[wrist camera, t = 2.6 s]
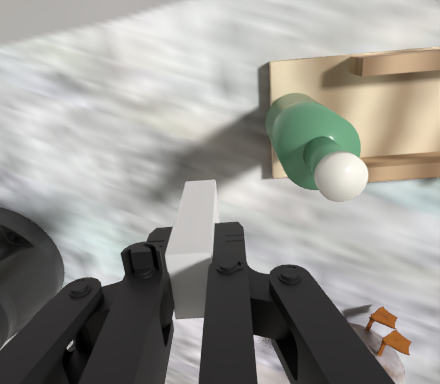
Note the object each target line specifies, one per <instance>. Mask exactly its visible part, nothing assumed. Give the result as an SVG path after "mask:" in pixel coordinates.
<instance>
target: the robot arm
mask: <svg viewBox="0 0 440 384" xmlns="http://www.w3.org/2000/svg"><path fill="white" fill-rule="evenodd" d="M121 257H122V261H123V266H124V270H125V276H124V278H123V280H122V281H120V282H117V283H114V284H110V285H107V286H103V287H102V286H101V282H100V281H99V280H98V279H95V278H92V277H91V278H81V279H77V280H75V281H73V282H71V283H69V284H67V285H66V286H65V287H64V288H62V285H63V281H64V265H63V261H62V258H61V255H60V253H59V250H58V249H57V247H56V245H55V244H54V242H53V241H52V239H51V238H50V237H49V236H48V235H47V234H46V233H45V232H44V231H43V230H42V229H41V228H40V227H39V226H38V225H36V224H35V223H34V222H32V221H31V220H29V219H28V218H26V217H24V216H22V215H20V214H18V213H16V212H13V211H11V210H8V209H5V208H1V207H0V348H1V347H2V346H3V344H4V343H5V342H6V341H7V340H8V339H10V338H11V337H12V336H14V335H15V334H16V333H17V334H16V335H15V336H14V337H13V338H12V339H11V340H10V341H9V342H8V343H7V344H6V345H5V346H4V347H3V348H2V349H1V350H0V384H164V383H165V378H166V372H167V366H168V361H169V355H170V349H171V344H172V338H173V332H174V326H173V320H172V316H173V311H174V312H175V317H176V319H188V318H204V325H203V337H202V349H201V361H200V373H199V384H258V383H257V372H256V361H255V349H254V338H253V335H258V336H262V337H266V338H271V341H272V345H273V347H274V349H275V351H276V353H277V356H278V358H279V360H280V362H281V364H282V366H283V368H284V371H285V373H286V375H287V377H288V379H289V381H290V384H395V382H394V381H393V380H392V378H391V377H390V376H389V375H388V373H387V372H386V371H385V369H384V368H383V367H382V366H381V364H380V363H379V362H378V360H377V359H376V358H375V357H374V355H373V354H372V353H371V351H370V350H369V349H368V348H367V346H366V345H365V344H364V342H363V341H362V340H361V339H360V337H359V336H358V335H357V333H356V332H355V331H354V330H353V328H352V327H351V326H350V324H349V323H348V322H347V321H346V319H345V318H344V317H343V315H342V314H341V313H340V312H339V310H338V309H337V308H336V306H335V305H334V304H333V303H332V301H331V300H330V299H329V297H328V296H327V295H326V294H325V292H324V291H323V290H322V288H321V287H320V286H319V285H318V283H317V282H316V281H315V279H314V278H313V277H312V276H311V274H310V273H309V272H308V271H307V270H306V269H304V268H302V267H300V266H297V265H290V264H289V265H281V266H278V267H275V268H274V269H273V270H272V271H271V272H270V274H263V273H259V272H257V271H254V270H253V269H251V268H250V267H249V266H248V265H247V262H246V252H245V241H244V230H243V227H242V226H241V225H240V223H239V222H227V223H220V220H219V210H218V199H217V189H216V179H214V180H200V181H186V183H185V186H184V190H183V193H182V197H181V200H180V204H179V207H178V211H177V214H176V218H175V221H174V225H173V227H164V228H156V229H155V230H154V231H153V232H151V233H150V234H149V236H148V239H147V242H140V243H135V244H133V245H130V246H128V247H127V248H125V249H124V250H123V251H122V252H121ZM61 288H62V289H61ZM72 340H73V345H72V346H71V347H70V348H69V349H68V350H67V349H66V348H67V346H68V345H69V344H70V342H71V341H72Z"/></svg>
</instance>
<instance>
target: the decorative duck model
mask: <svg viewBox="0 0 440 384" xmlns="http://www.w3.org/2000/svg"><path fill="white" fill-rule="evenodd" d="M369 318H370V321H369V323H368V325H367V326H366V327H363V326H360V325H357V324H352V323H349V324H350V326H351V327H352V328H353V330H354V331H355V332H356V333H357V335H358V336H359V337H360V339H361V340H362V341H363V342H364V344H365V345H366V346H367V348H368V349H369V350H370V351H371V353H372V354H373V355H374V357H375V358H376V359H377V360H378V362H379V363H380V364H381V366H382V367H383V368H384V369H385V371H386V372H387V373H388V375H389V376H390V377H391V378H392V380H393V381H394V382H395V384H403V383H404V379H405V372H404V368H403V364H402V362H401V360H400V358H399V356H398V354H397V353H396V351H395V350H397V351H399V352H401V353H403V354H406V355H410V354H409V345H410V344H411V342H410V341H409V340H408V339H406V338H405V337H403V336H402V335H401V334H400V333H398V332H397V330H394V331H393V332H391V333H390V334H388V335H387V336H386V337H382V336H380V335H378V334H377V333H375V332H374V331H372V330H370V328H371V326H372V323H373V322H374V321H376V322H378V323H381V324H383V325H386V326H388V327H390V328H393V329H396V328H395V322H396V319H397V317H395V316H394V315H392V314H391V313H389V312H388V311H387V310H385V309H384V307H381V308H379V309H378V310H377V311H376V312H375V313H373V314H371V317H369ZM393 348H394V349H395V350H394V349H393Z"/></svg>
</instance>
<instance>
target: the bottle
mask: <svg viewBox="0 0 440 384" xmlns="http://www.w3.org/2000/svg"><path fill="white" fill-rule="evenodd" d="M265 129H266V133H267V135H268V138H269V140H270V142H271V144H272V146H273V148H274V150H275V152H276V154H277V157H278V159H279V161H280V163H281V165H282V167H283V169H284V171H285V173H286V175H287V176H288V177H289V179H290V180H291V181H292V182H294V183H295V184H297V185H298V186H300V187H303V188H306V189H310V190H319V191H320V192H321V194H322V195H323V196H324V197H326V198H327V199H329V200H331V201H335V202H344V201H348V200H351V199H353V198H355V197H356V196H358V195H359V194H360V193H361V192H362V191H363V189H364V188H365V186H366V184H367V181H368V169H367V167H366V165H365V163H364V162H363V161H362V160H361V159H360V158H359V157H360V152H361V143H360V138H359V135H358V133H357V131H356V129H355V128H354V127H353V125H352V124H351V123H350V122H348V121H347V120H346V119H344V118H342V117H341V116H339V115H338V114H336V113H335V112H333V111H332V110H330V109H328V108H327V107H325V106H324V105H322V104H321V103H319V102H317V101H316V100H314V99H313V98H311V97H310V96H308V95H305V94H302V93H290V94H286V95H284V96H282V97H280V98H278V99H277V100H276V101H275V102H274V103H273V104H272V105H271V106H270V108H269V110H268V112H267V114H266V118H265Z"/></svg>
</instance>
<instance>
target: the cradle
mask: <svg viewBox="0 0 440 384" xmlns="http://www.w3.org/2000/svg"><path fill="white" fill-rule="evenodd" d="M269 75H270V106H271V105H272V104H273V103H274V102H275V101H276V100H277V99H278V98H280V97H282V96H284V95H286V94H290V93H302V94H305V95H308V96H310V97H311V98H313V99H314V100H316V101H317V102H319V103H321V104H322V105H324V106H325V107H327V108H328V109H330V110H332V111H333V112H335V113H336V114H338V115H339V116H341V117H342V118H344V119H346V120H347V121H348V122H350V123H351V124H352V125H353V127H354V128H355V129H356V131H357V133H358V135H359V138H360V143H361V152H360V157H359V158H360V159H361V160H362V161H363V162H364V163H365V165H366V167H367V169H368V181H367V182H378V181H391V180H405V179H419V178H432V177H440V47H430V48H419V49H407V50H396V51H384V52H373V53H362V54H350V55H339V56H327V57H316V58H305V59H293V60H282V61H270V62H269ZM271 152H272V175H273V178H283V177H288V176H287V175H286V173H285V171H284V169H283V167H282V165H281V163H280V161H279V159H278V157H277V154H276V152H275V150H274V148H273V146H272V144H271Z"/></svg>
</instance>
